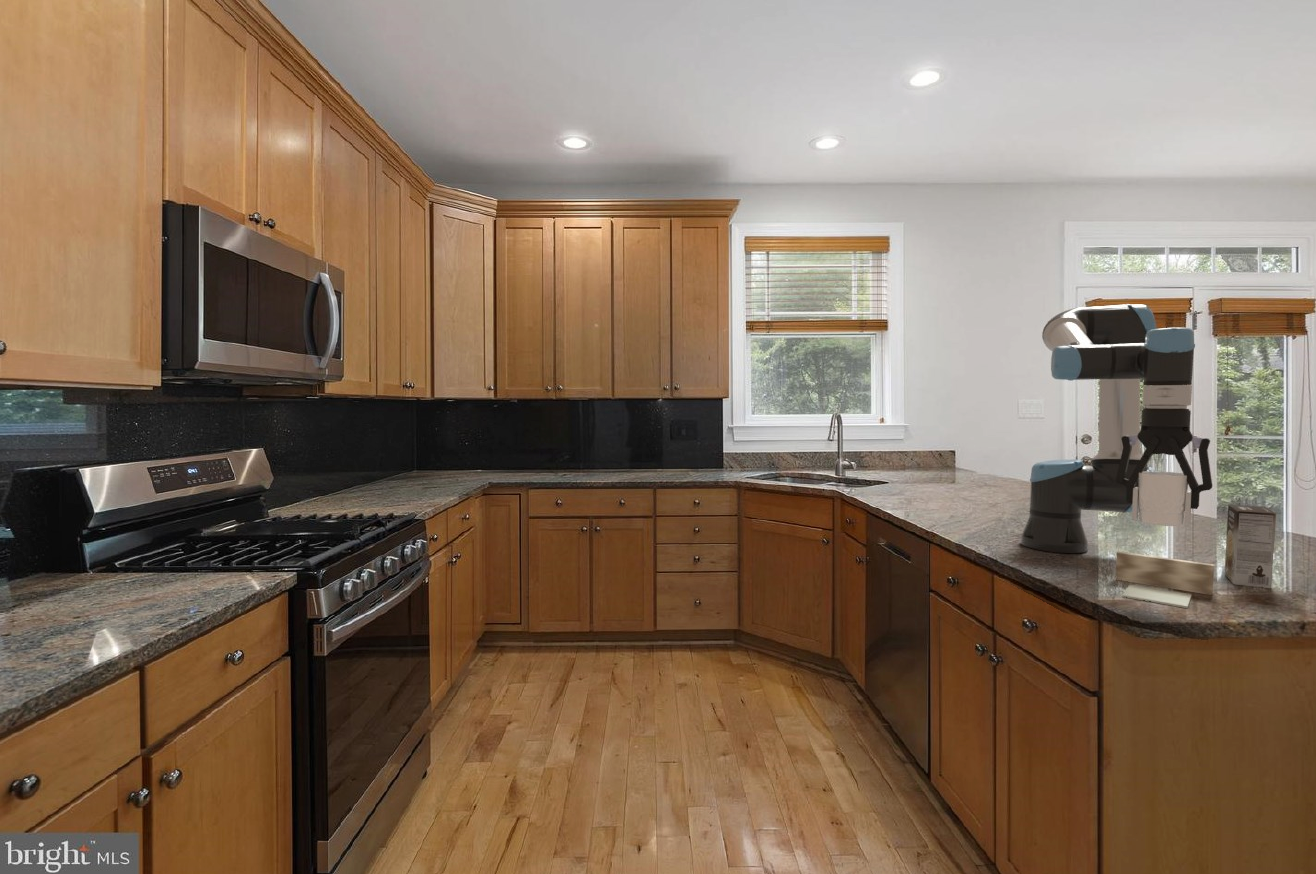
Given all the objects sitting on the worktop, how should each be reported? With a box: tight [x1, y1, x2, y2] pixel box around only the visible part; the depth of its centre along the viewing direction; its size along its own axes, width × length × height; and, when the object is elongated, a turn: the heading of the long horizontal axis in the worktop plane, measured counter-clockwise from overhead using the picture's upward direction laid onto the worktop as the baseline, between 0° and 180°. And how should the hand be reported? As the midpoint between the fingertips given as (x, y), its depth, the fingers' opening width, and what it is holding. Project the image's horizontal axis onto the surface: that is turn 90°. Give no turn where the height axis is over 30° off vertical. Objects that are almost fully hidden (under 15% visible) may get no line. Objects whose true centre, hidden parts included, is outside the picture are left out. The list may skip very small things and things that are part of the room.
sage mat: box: [1122, 583, 1193, 609], centre depth 126 cm, size 10×10×1 cm
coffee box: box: [1224, 504, 1277, 589], centre depth 136 cm, size 9×6×16 cm
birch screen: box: [1115, 551, 1215, 596], centre depth 133 cm, size 16×2×6 cm, turn 46°
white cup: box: [1138, 470, 1189, 527], centre depth 125 cm, size 8×8×10 cm
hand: (1160, 522), depth 125 cm, fingers closed on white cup, 7 cm apart
